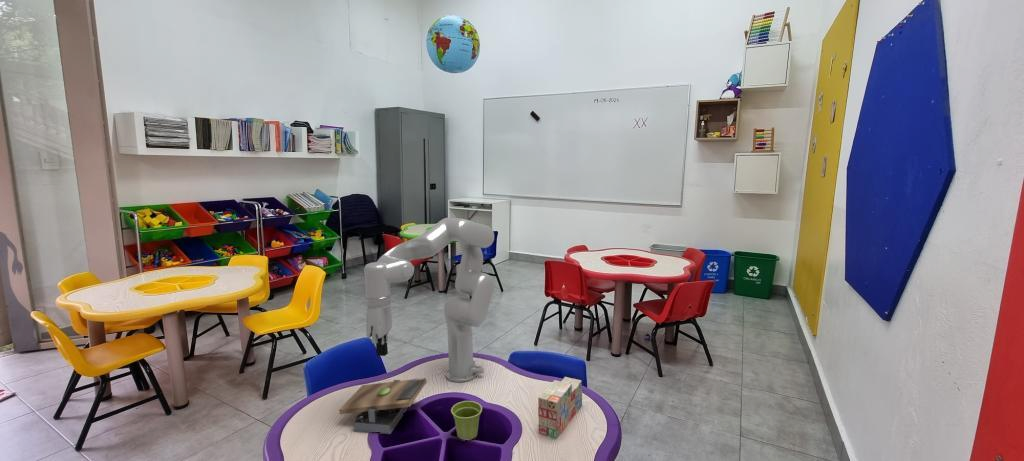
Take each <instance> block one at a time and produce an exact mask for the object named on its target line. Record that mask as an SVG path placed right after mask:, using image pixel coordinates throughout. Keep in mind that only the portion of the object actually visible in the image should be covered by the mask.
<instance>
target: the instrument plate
mask: <svg viewBox="0 0 1024 461" xmlns="http://www.w3.org/2000/svg"><path fill="white" fill-rule="evenodd" d="M393 381H394V380H393ZM393 381H388V382H377V383H370V384H362V385H361V386H360V387H359V388H358V389H357V391H356V392H354V393H353V395H352V396H351V397H349V399H348V400H347V401H346V402H345V403H344V404H343V405H342V406H341V407H340V408H339V409H338V410H339V415H344V414H346V415H347V414H357V413H362V412H366V411H369V409H376V413H377V412H378V411H379V410H385V409H394V408H404V407H409V408H410V407H411V406H412V404H414V401H415V400H416V398H417V397H418V396H419V394H420V393H421V391H422V389H424V386H425V385H426V384H427V382H428V380H427V377H423V378H422V377H420V378H413V379H412V378H411V379H405V380H404V379H403V380H400V381H394V382H393Z"/></svg>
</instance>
